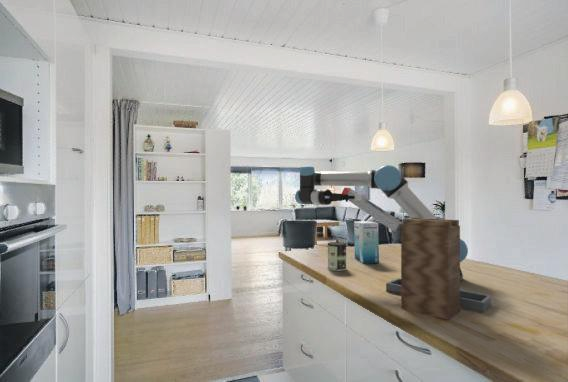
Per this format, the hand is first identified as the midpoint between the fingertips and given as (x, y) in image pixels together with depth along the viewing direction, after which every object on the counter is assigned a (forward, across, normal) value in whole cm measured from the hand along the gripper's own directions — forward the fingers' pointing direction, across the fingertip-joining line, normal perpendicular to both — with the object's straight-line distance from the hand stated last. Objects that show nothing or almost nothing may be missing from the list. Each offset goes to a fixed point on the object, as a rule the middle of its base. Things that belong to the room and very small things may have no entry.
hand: (364, 197), depth 145 cm
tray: (+28, -6, -40) cm, 49 cm away
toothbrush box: (-29, -52, -40) cm, 72 cm away
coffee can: (-29, -21, -40) cm, 54 cm away
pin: (+2, 0, -6) cm, 7 cm away
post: (+31, +8, -40) cm, 51 cm away
